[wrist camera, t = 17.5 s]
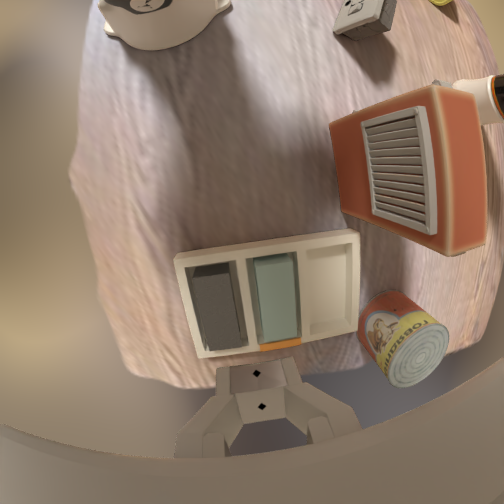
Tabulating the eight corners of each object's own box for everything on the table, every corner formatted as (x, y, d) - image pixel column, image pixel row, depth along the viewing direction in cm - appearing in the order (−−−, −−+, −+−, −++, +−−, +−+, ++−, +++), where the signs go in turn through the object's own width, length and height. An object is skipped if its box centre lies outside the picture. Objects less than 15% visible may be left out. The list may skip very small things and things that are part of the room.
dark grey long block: (195, 267, 36) (192, 278, 33) (228, 262, 37) (229, 273, 33) (210, 335, 40) (209, 351, 36) (240, 331, 40) (241, 347, 36)
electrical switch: (343, -2, 27) (372, -26, 18) (370, 14, 28) (402, -6, 19) (330, 33, 29) (361, 8, 20) (359, 50, 30) (395, 31, 22)
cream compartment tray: (177, 252, 36) (172, 260, 33) (350, 228, 37) (361, 233, 34) (200, 347, 41) (198, 360, 37) (350, 322, 42) (358, 332, 39)
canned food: (376, 281, 40) (419, 316, 29) (419, 299, 42) (459, 331, 31) (344, 340, 43) (373, 385, 31) (388, 350, 45) (420, 389, 33)
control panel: (364, 113, 33) (377, 214, 37) (319, 114, 33) (335, 222, 37) (476, 80, 12) (489, 258, 17) (418, 64, 12) (438, 277, 16)
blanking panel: (252, 256, 37) (255, 266, 33) (285, 252, 37) (292, 261, 33) (261, 326, 40) (264, 342, 36) (291, 322, 40) (297, 336, 36)
